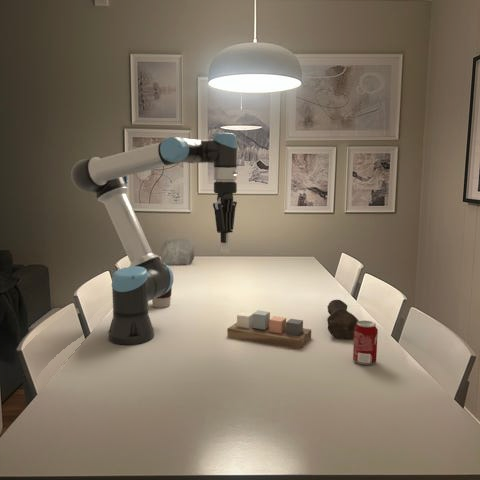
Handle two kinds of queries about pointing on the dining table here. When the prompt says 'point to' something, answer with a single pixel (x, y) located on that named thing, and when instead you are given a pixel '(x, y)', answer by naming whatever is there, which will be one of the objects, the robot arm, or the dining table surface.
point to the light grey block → (261, 319)
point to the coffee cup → (162, 300)
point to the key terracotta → (277, 324)
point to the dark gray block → (294, 327)
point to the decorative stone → (177, 251)
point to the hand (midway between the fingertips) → (225, 252)
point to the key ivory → (245, 320)
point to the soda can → (365, 343)
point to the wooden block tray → (269, 336)
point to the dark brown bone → (340, 320)
